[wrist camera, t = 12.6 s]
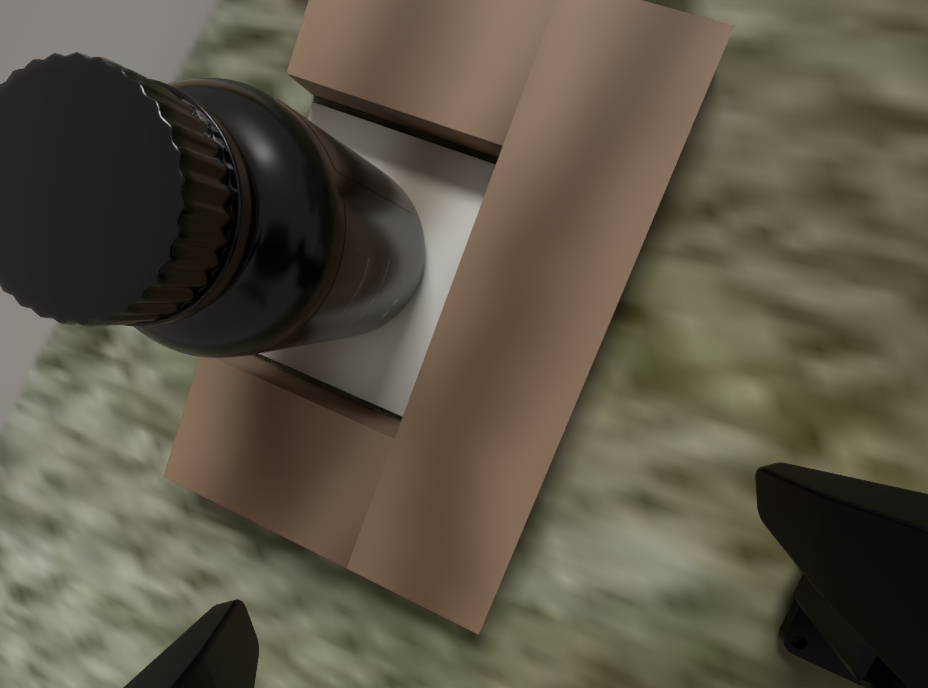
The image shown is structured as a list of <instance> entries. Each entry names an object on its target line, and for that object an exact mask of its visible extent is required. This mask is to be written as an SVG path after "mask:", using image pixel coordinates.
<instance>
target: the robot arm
mask: <svg viewBox="0 0 928 688" xmlns="http://www.w3.org/2000/svg"><path fill="white" fill-rule="evenodd" d="M755 481H756V495H757V508H758V513H759V516H760V518H761V520H762V522H763V523H764V525H765V526H766V527H767V528H768V530H769V531H770V532H771V533H772V535H773V536H774V537H775V538H776V540H777V541H778V542H779V544H780V545H781V546H782V547H783V549H784V550H785V551H786V552H787V554H788V555H789V556H790V557H791V559H792V560H793V561H794V562H795V564H796V565H797V566H798V567H799V569H800V570H801V571H802V572H803V576H802V578H801V580H800V582H799V584H798V586H797V588H796V590H795V592H794V597H795V601H794V603H793V605H792V607H791V609H790V611H789V613H788V615H787V617H786V618H785V620H784V622H783V624H782V626H781V628H780V632H779V636H780V639H781V641H782V643H783V644H784V646H785V647H786V649H787V650H788V651H789V652H791V653H792V654H794V655H796V656H798V657H800V658H802V659H805V660H807V661H809V662H811V663H813V664H815V665H818V666H820V667H822V668H824V669H826V670H829V671H831V672H833V673H835V674H837V675H839V676H842V677H844V678H846V679H848V680H850V681H852V682H855V683H857V684H859V685H861V686H863V687H865V688H928V494H925V493H921V492H916V491H911V490H907V489H902V488H898V487H893V486H888V485H884V484H879V483H875V482H870V481H865V480H861V479H856V478H852V477H847V476H842V475H838V474H833V473H828V472H824V471H819V470H815V469H810V468H805V467H801V466H796V465H792V464H787V463H782V462H780V463H774V464H770V465H766V466H762V467H759V468H758V469H757V471H756V474H755ZM796 635H801V636H802V639H801V640H800V641H798V642H793V641H792V638H793V637H794V636H796ZM258 657H259V644H258V639H257V636H256V633H255V630H254V628H253V625H252V622H251V620H250V617H249V614H248V611H247V609H246V606H245V604H244V603H243V602H242V601H240V600H233V601H229V602H225V603H221V604H217V605H215V606H213V607H212V608H211V609H210V610H209V611H208V612H207V613H205V614H204V615H203V616H202V617H201V618H200V619H199V620H198V621H197V622H195V623H194V624H193V625H192V626H191V627H190V628H189V629H188V630H187V631H185V632H184V633H183V634H182V635H181V636H180V637H179V638H178V639H177V640H176V641H174V642H173V643H172V644H171V645H170V646H169V647H168V648H167V649H166V650H164V651H163V652H162V653H161V654H160V655H159V656H158V657H157V658H156V659H154V660H153V661H152V662H151V663H150V664H149V665H148V666H147V667H146V668H144V669H143V670H142V671H141V672H140V673H139V674H138V675H137V676H136V677H135V678H133V679H132V680H131V681H130V682H129V683H128V684H127V685H126V686H125V687H123V688H254V685H255V678H256V671H257V664H258Z"/></svg>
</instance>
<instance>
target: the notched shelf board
mask: <svg viewBox="0 0 928 688" xmlns="http://www.w3.org/2000/svg"><path fill="white" fill-rule="evenodd" d="M733 28H734V25H730V24H726V23H723V22H719V21H715V20H712V19H708V18H705V17H701V16H697V15H694V14H690V13H686V12H683V11H679V10H675V9H672V8H668V7H664V6H661V5H657V4H653V3H650V2H646V1H642V0H309V1H308V5H307V8H306V11H305V14H304V18H303V21H302V24H301V28H300V31H299V34H298V37H297V41H296V44H295V47H294V51H293V54H292V57H291V60H290V64H289V67H288V70H287V74H288V75H289V76H291V77H292V78H293V79H294V80H295V81H297V82H298V83H299V84H300V85H301V86H303V87H304V88H305V89H306V90H308V91H309V92H310V93H311V94H312V95H314V96H317V97H320V98H323V99H326V100H329V101H332V102H335V103H338V104H341V105H344V106H347V107H350V108H352V109H355V110H358V111H361V112H364V113H367V114H370V115H373V116H376V117H379V118H382V119H385V120H388V121H391V122H394V123H397V124H400V125H403V126H406V127H408V128H411V129H414V130H417V131H420V132H423V133H426V134H429V135H432V136H435V137H438V138H441V139H444V140H447V141H450V142H453V143H456V144H459V145H461V146H464V147H467V148H470V149H473V150H476V151H479V152H482V153H485V154H488V155H491V156H494V157H497V158H498V160H497V163H496V165H495V164H492V163H489V162H486V161H483V160H481V159H478V158H475V157H472V156H469V155H466V154H463V153H460V152H457V151H454V150H451V149H448V148H445V147H443V146H440V145H437V144H434V143H431V142H428V141H425V140H422V139H419V138H416V137H413V136H410V135H407V134H405V133H402V132H399V131H396V130H393V129H390V128H387V127H384V126H381V125H378V124H375V123H372V122H369V121H367V120H364V119H361V118H358V117H355V116H352V115H349V114H346V113H343V112H340V111H337V110H334V109H331V108H329V107H326V106H323V105H320V104H317V103H314V102H313V103H312V106H311V109H310V112H309V116H308V120H309V121H311V122H312V123H314V124H315V125H317V126H318V127H319V128H321V129H322V130H324V131H325V132H327V133H328V134H330V135H331V136H332V137H334V138H335V139H337V140H338V141H340V142H341V143H343V144H344V145H345V146H347V147H348V148H350V149H351V150H353V151H354V152H356V153H357V154H358V155H360V156H361V157H363V158H364V159H366V160H367V161H369V162H370V163H371V164H373V165H374V166H376V167H377V168H379V169H380V170H381V171H383V172H384V173H385V174H387V175H388V176H389V177H390V178H392V179H393V180H394V181H395V182H396V183H397V184H398V185H399V186H400V187H401V188H402V189H403V190H404V191H405V193H406V194H407V195H408V197H409V198H410V200H411V201H412V203H413V205H414V207H415V208H416V210H417V213H418V215H419V218H420V221H421V224H422V228H423V233H424V240H425V259H424V266H423V271H422V275H421V278H420V281H419V284H418V286H417V288H416V290H415V292H414V294H413V296H412V298H411V299H410V301H409V302H408V304H407V305H406V306H405V307H404V309H403V310H402V311H401V312H400V313H399V314H398V315H397V316H396V317H394V318H393V319H392V320H391V321H389V322H388V323H386V324H385V325H383V326H381V327H380V328H378V329H375V330H373V331H371V332H368V333H365V334H362V335H358V336H353V337H348V338H343V339H338V340H332V341H326V342H321V343H315V344H310V345H304V346H298V347H293V348H287V349H282V350H276V351H270V352H265V353H259V354H261V355H263V356H265V357H268V358H270V359H272V360H275V361H277V362H279V363H281V364H284V365H286V366H288V367H290V368H293V369H295V370H297V371H300V372H302V373H304V374H306V375H309V376H311V377H313V378H315V379H318V380H320V381H322V382H325V383H327V384H329V385H331V386H334V387H336V388H338V389H340V390H343V391H345V392H347V393H350V394H352V395H354V396H356V397H359V398H361V399H363V400H365V401H368V402H370V403H372V404H375V405H377V406H379V407H381V408H384V409H386V410H388V411H391V412H393V413H395V414H397V415H400V416H402V420H401V422H399V421H397V420H395V419H393V418H390V417H388V416H386V415H384V414H381V413H379V412H377V411H375V410H372V409H370V408H368V407H365V406H363V405H361V404H359V403H356V402H354V401H352V400H350V399H347V398H345V397H343V396H341V395H338V394H336V393H334V392H332V391H329V390H327V389H325V388H322V387H320V386H318V385H316V384H313V383H311V382H309V381H307V380H304V379H302V378H300V377H298V376H295V375H293V374H291V373H289V372H286V371H284V370H282V369H279V368H277V367H275V366H273V365H270V364H268V363H266V362H264V361H261V360H259V359H257V358H255V357H252V356H250V355H248V356H241V357H230V358H205V357H200V359H199V362H198V365H197V369H196V372H195V375H194V379H193V382H192V385H191V388H190V392H189V395H188V398H187V402H186V405H185V408H184V411H183V415H182V418H181V421H180V425H179V428H178V431H177V434H176V438H175V441H174V444H173V447H172V451H171V454H170V457H169V461H168V464H167V467H166V470H165V474H164V477H165V478H167V479H169V480H171V481H173V482H175V483H177V484H179V485H181V486H183V487H185V488H187V489H189V490H191V491H193V492H195V493H197V494H199V495H201V496H203V497H205V498H207V499H209V500H211V501H213V502H215V503H217V504H219V505H221V506H223V507H225V508H227V509H229V510H231V511H233V512H235V513H237V514H239V515H241V516H243V517H245V518H247V519H249V520H251V521H253V522H255V523H257V524H259V525H261V526H263V527H265V528H267V529H269V530H271V531H273V532H275V533H277V534H279V535H281V536H283V537H285V538H287V539H289V540H291V541H293V542H295V543H297V544H299V545H301V546H303V547H305V548H307V549H309V550H311V551H313V552H315V553H317V554H319V555H321V556H323V557H325V558H327V559H329V560H331V561H333V562H335V563H337V564H339V565H341V566H343V567H345V568H347V569H349V570H351V571H353V572H355V573H357V574H359V575H361V576H363V577H365V578H367V579H369V580H371V581H373V582H375V583H377V584H379V585H381V586H382V587H384V588H386V589H388V590H390V591H392V592H394V593H396V594H398V595H400V596H402V597H404V598H406V599H408V600H410V601H412V602H414V603H416V604H418V605H420V606H422V607H424V608H426V609H428V610H430V611H432V612H434V613H436V614H438V615H440V616H442V617H444V618H446V619H448V620H450V621H452V622H454V623H456V624H458V625H460V626H462V627H464V628H466V629H468V630H470V631H472V632H474V633H476V634H478V635H479V633H480V631H481V628H482V626H483V624H484V621H485V619H486V617H487V614H488V612H489V609H490V607H491V605H492V602H493V600H494V597H495V595H496V593H497V590H498V588H499V586H500V583H501V581H502V578H503V576H504V574H505V571H506V569H507V566H508V564H509V562H510V559H511V557H512V555H513V552H514V550H515V547H516V545H517V543H518V540H519V538H520V535H521V533H522V531H523V528H524V526H525V524H526V521H527V519H528V516H529V514H530V512H531V509H532V507H533V504H534V502H535V500H536V497H537V495H538V493H539V490H540V488H541V485H542V483H543V481H544V478H545V476H546V473H547V471H548V469H549V466H550V464H551V462H552V459H553V457H554V454H555V452H556V450H557V447H558V445H559V442H560V440H561V438H562V435H563V433H564V431H565V428H566V426H567V423H568V421H569V419H570V416H571V414H572V411H573V409H574V407H575V404H576V402H577V400H578V397H579V395H580V392H581V390H582V388H583V385H584V383H585V380H586V378H587V376H588V373H589V371H590V369H591V366H592V364H593V361H594V359H595V357H596V354H597V352H598V350H599V347H600V345H601V342H602V340H603V338H604V335H605V333H606V330H607V328H608V326H609V323H610V321H611V319H612V316H613V314H614V311H615V309H616V307H617V304H618V302H619V299H620V297H621V295H622V292H623V290H624V288H625V285H626V283H627V280H628V278H629V276H630V273H631V271H632V268H633V266H634V264H635V261H636V259H637V257H638V254H639V252H640V249H641V247H642V245H643V242H644V240H645V237H646V235H647V233H648V230H649V228H650V226H651V223H652V221H653V218H654V216H655V214H656V211H657V209H658V206H659V204H660V202H661V199H662V197H663V195H664V192H665V190H666V187H667V185H668V183H669V180H670V178H671V175H672V173H673V171H674V168H675V166H676V164H677V161H678V159H679V156H680V154H681V152H682V149H683V147H684V144H685V142H686V140H687V137H688V135H689V133H690V130H691V128H692V125H693V123H694V121H695V118H696V116H697V113H698V111H699V109H700V106H701V104H702V102H703V99H704V97H705V94H706V92H707V90H708V87H709V85H710V82H711V80H712V78H713V75H714V73H715V71H716V68H717V66H718V63H719V61H720V59H721V56H722V54H723V51H724V49H725V47H726V44H727V42H728V40H729V37H730V35H731V32H732V30H733Z"/></svg>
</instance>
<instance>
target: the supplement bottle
mask: <svg viewBox="0 0 928 688" xmlns="http://www.w3.org/2000/svg"><path fill="white" fill-rule="evenodd" d="M424 259H425V240H424V233H423V228H422V224H421V221H420V218H419V215H418V213H417V210H416V208H415V207H414V205H413V203H412V201H411V200H410V198H409V197H408V195H407V194H406V193H405V191H404V190H403V189H402V188H401V187H400V186H399V185H398V184H397V183H396V182H395V181H394V180H393V179H392V178H390V177H389V176H388V175H387V174H385V173H384V172H383V171H381V170H380V169H379V168H377V167H376V166H374V165H373V164H371V163H370V162H369V161H367V160H366V159H364V158H363V157H361V156H360V155H358V154H357V153H356V152H354V151H353V150H351V149H350V148H348V147H347V146H345V145H344V144H343V143H341V142H340V141H338V140H337V139H335V138H334V137H332V136H331V135H330V134H328V133H327V132H325V131H324V130H322V129H321V128H319V127H318V126H317V125H315V124H314V123H312V122H311V121H309V120H308V119H306V118H305V117H303V116H302V115H301V114H299V113H298V112H296V111H295V110H293V109H292V108H290V107H289V106H287V105H286V104H284V103H283V102H281V101H280V100H278V99H276V98H275V97H273V96H271V95H269V94H267V93H265V92H263V91H261V90H260V89H258V88H255V87H253V86H250V85H247V84H245V83H241V82H237V81H233V80H228V79H222V78H191V79H184V80H179V81H174V82H171V83H168V84H166V83H163V82H160V81H156V80H152V79H148V78H146V77H144V76H142V75H140V74H138V73H136V72H134V71H132V70H130V69H127V68H124V67H123V66H121V65H119V64H117V63H115V62H113V61H111V60H109V59H106V58H102V57H90V56H87V55H85V54H82V53H78V52H76V53H73V54H70V55H68V56H64V55H60V54H56V53H54V54H52V55H51V56H49V57H47V58H46V59H45V60H40V59H35V60H32V61H31V62H30V63H29V64H28V65H27V66H26V67H25V68H24V69H18V70H15V71H13V72H12V74H11V75H10V76H9V78H8V79H7V81H6V82H4V83H2V84H0V286H1V287H2V289H3V291H5V292H6V293H9V294H11V295H13V296H14V297H15V299H16V300H17V302H18V303H19V304H20V305H21V306H23V307H27V308H31V309H32V310H33V311H34V312H35V313H37V314H38V315H39V316H40V317H44V318H53V319H55V320H56V321H58V322H59V323H61V324H68V325H77V324H81V325H85V326H109V325H126V326H133V327H135V328H136V329H137V330H138V331H140V332H141V333H142V334H144V335H145V336H147V337H149V338H150V339H152V340H154V341H155V342H157V343H159V344H161V345H163V346H165V347H167V348H170V349H172V350H175V351H178V352H181V353H184V354H188V355H192V356H198V357H205V358H230V357H241V356H248V355H253V354H259V353H265V352H270V351H276V350H282V349H287V348H293V347H298V346H304V345H310V344H315V343H321V342H326V341H332V340H338V339H343V338H348V337H353V336H358V335H362V334H365V333H368V332H371V331H373V330H375V329H378V328H380V327H381V326H383V325H385V324H386V323H388V322H389V321H391V320H392V319H393V318H394V317H396V316H397V315H398V314H399V313H400V312H401V311H402V310H403V309H404V307H405V306H406V305H407V304H408V302H409V301H410V299H411V298H412V296H413V294H414V292H415V290H416V288H417V286H418V284H419V281H420V278H421V275H422V271H423V266H424Z"/></svg>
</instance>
